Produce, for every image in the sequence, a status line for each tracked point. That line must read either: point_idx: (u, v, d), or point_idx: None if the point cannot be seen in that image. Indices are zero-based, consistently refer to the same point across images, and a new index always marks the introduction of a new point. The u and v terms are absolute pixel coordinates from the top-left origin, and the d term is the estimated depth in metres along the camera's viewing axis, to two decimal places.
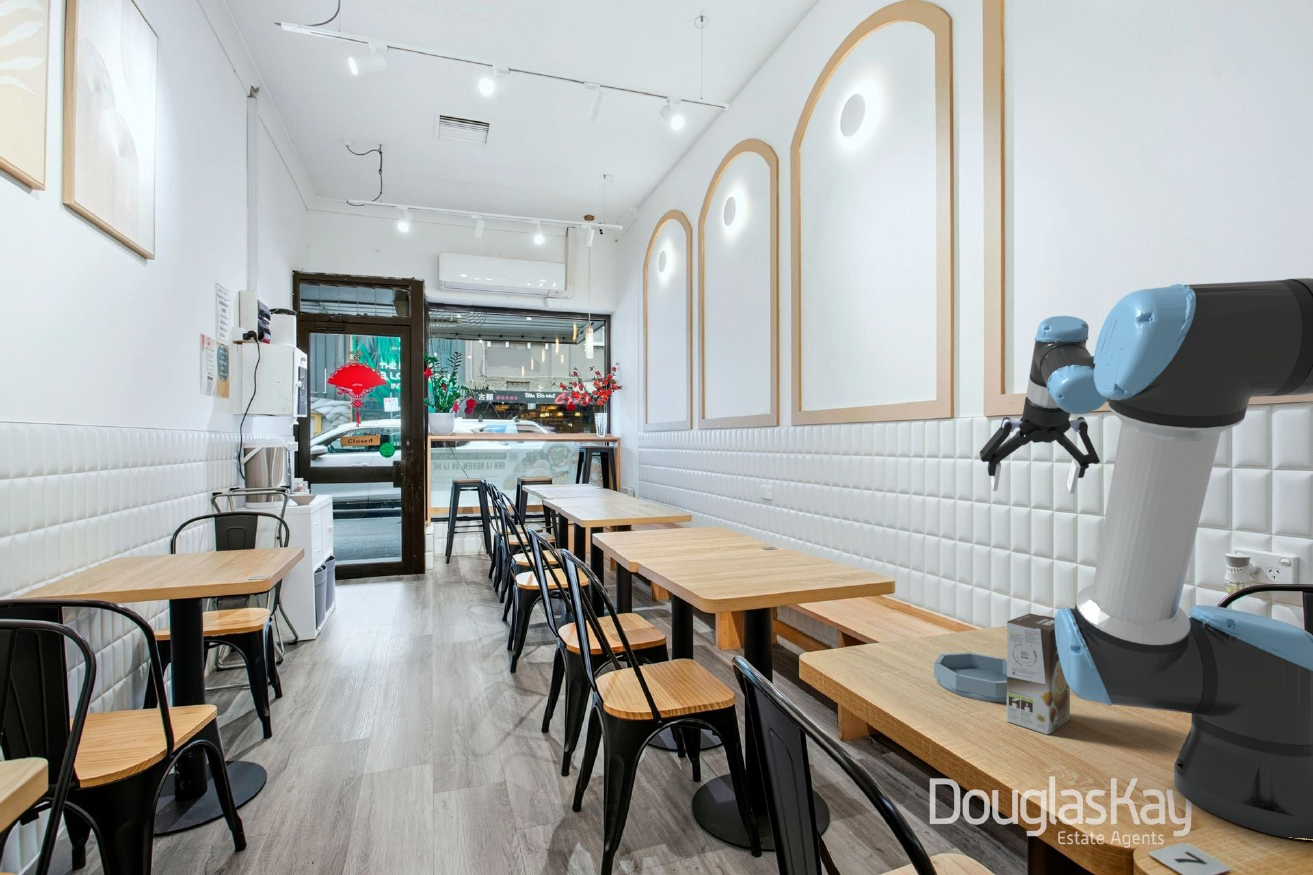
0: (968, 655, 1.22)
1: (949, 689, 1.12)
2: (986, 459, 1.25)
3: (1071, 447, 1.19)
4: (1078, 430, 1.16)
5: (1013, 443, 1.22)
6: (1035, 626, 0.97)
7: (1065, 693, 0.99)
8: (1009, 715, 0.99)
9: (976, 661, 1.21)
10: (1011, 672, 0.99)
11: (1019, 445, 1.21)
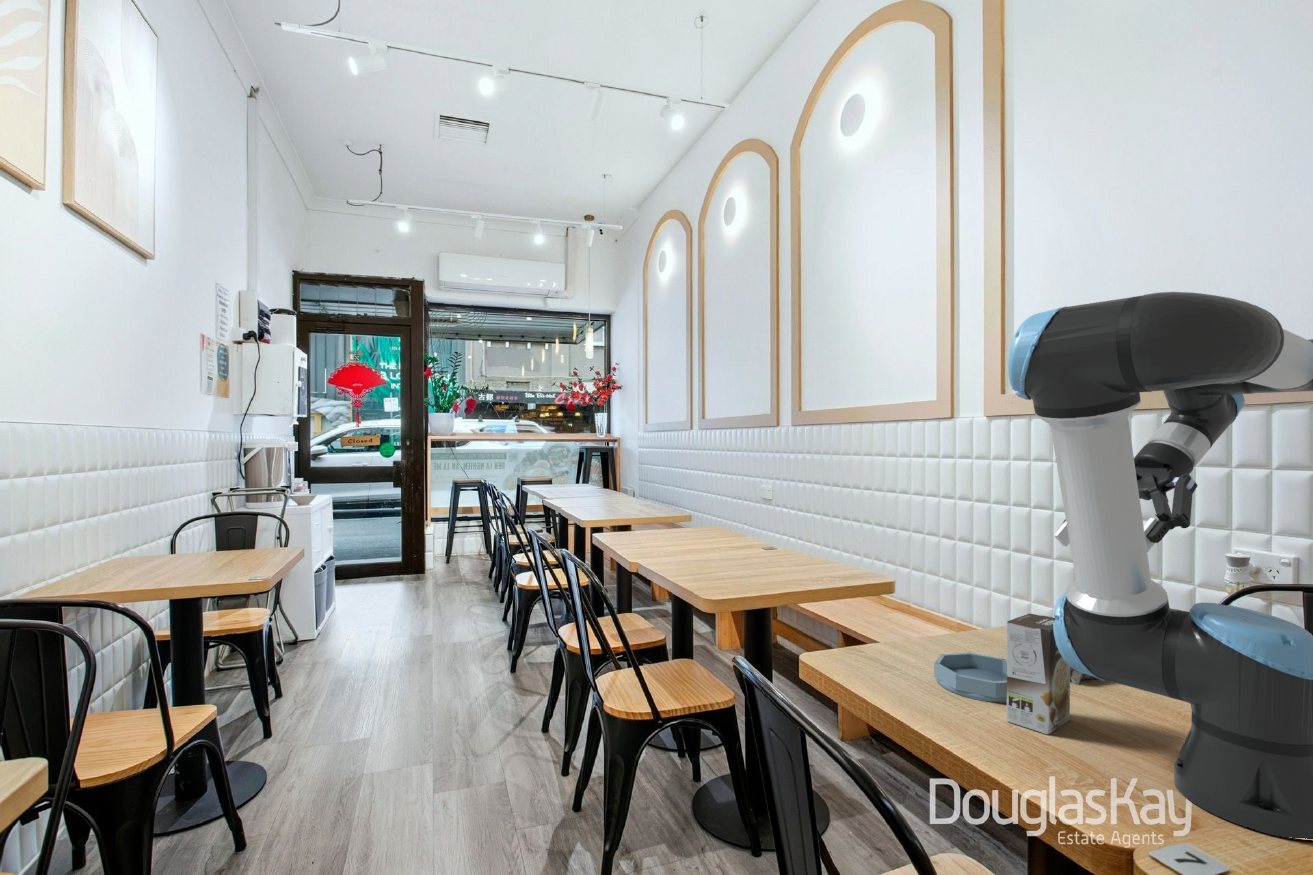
0: (968, 655, 1.22)
1: (949, 689, 1.12)
2: None
3: (1158, 497, 0.99)
4: (1176, 480, 0.99)
5: None
6: (1035, 626, 0.97)
7: (1065, 693, 0.99)
8: (1009, 715, 0.99)
9: (976, 661, 1.21)
10: (1011, 672, 0.99)
11: None
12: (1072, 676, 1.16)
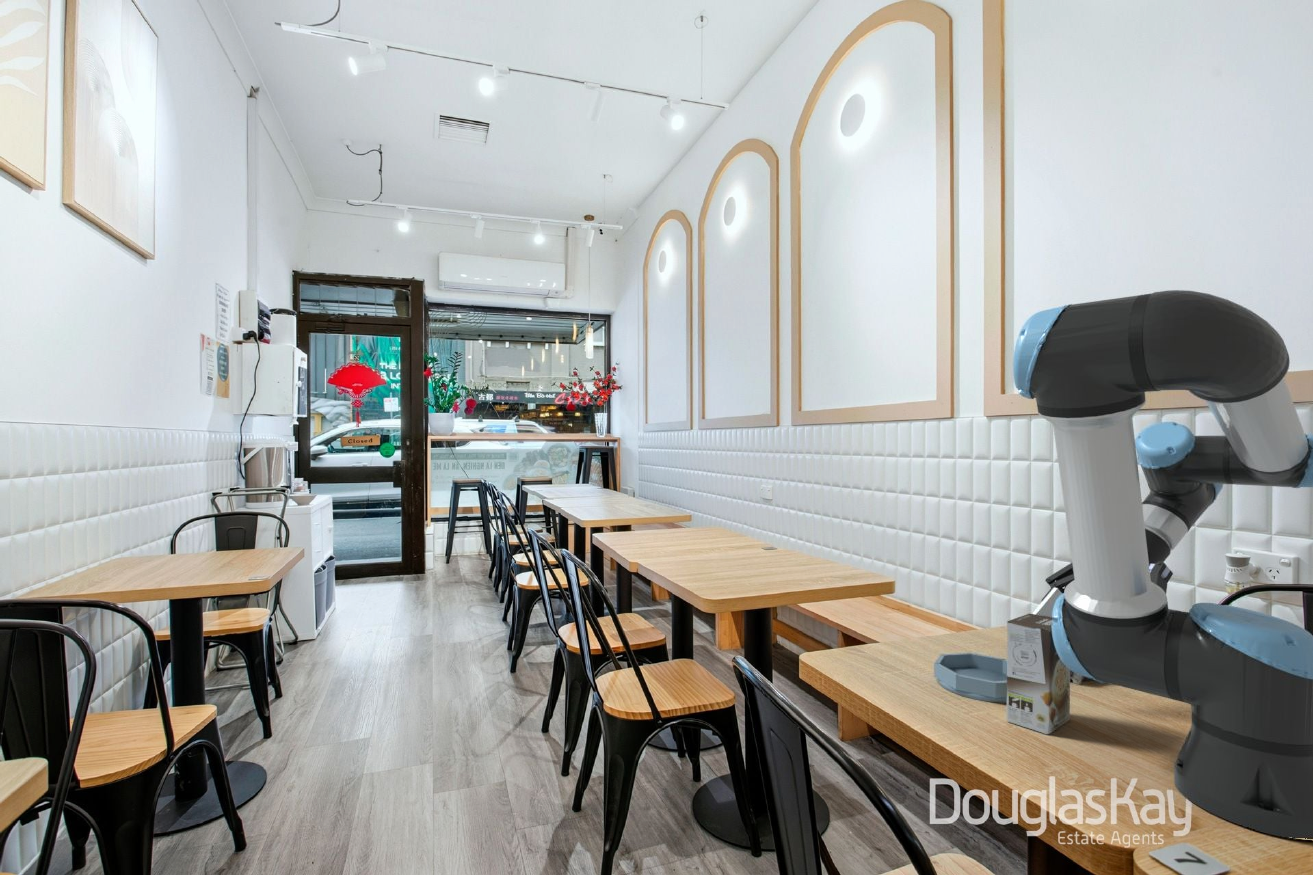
0: (968, 655, 1.22)
1: (949, 689, 1.12)
2: (1050, 579, 1.12)
3: None
4: (1151, 567, 0.99)
5: None
6: (1035, 626, 0.97)
7: (1065, 693, 0.99)
8: (1009, 715, 0.99)
9: (976, 661, 1.21)
10: (1011, 672, 0.99)
11: None
12: (1073, 676, 1.16)
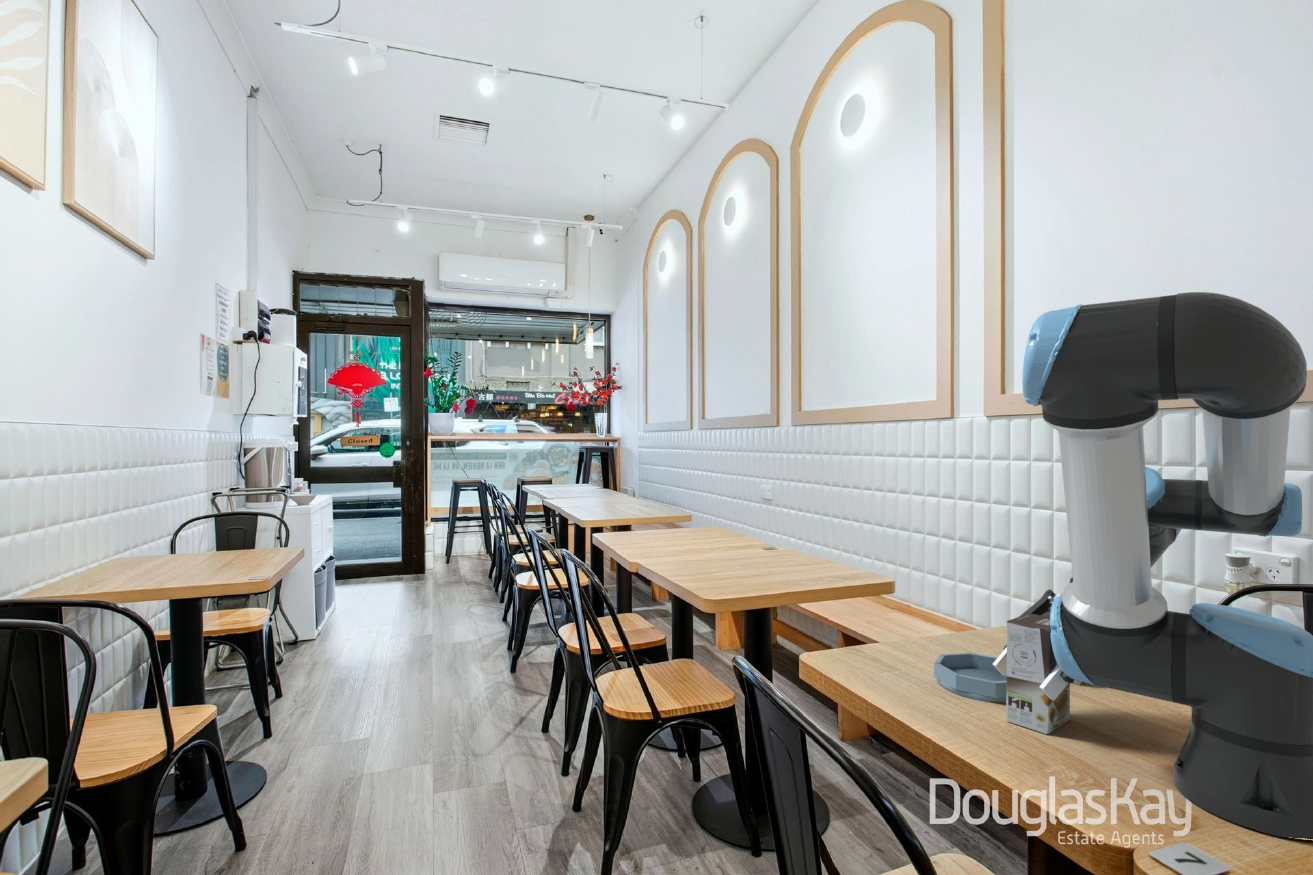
0: (968, 655, 1.22)
1: (949, 689, 1.12)
2: None
3: None
4: None
5: None
6: (1034, 626, 0.97)
7: (1065, 693, 0.99)
8: (1009, 715, 0.99)
9: (976, 661, 1.21)
10: (1011, 672, 0.99)
11: (1048, 615, 1.04)
12: None
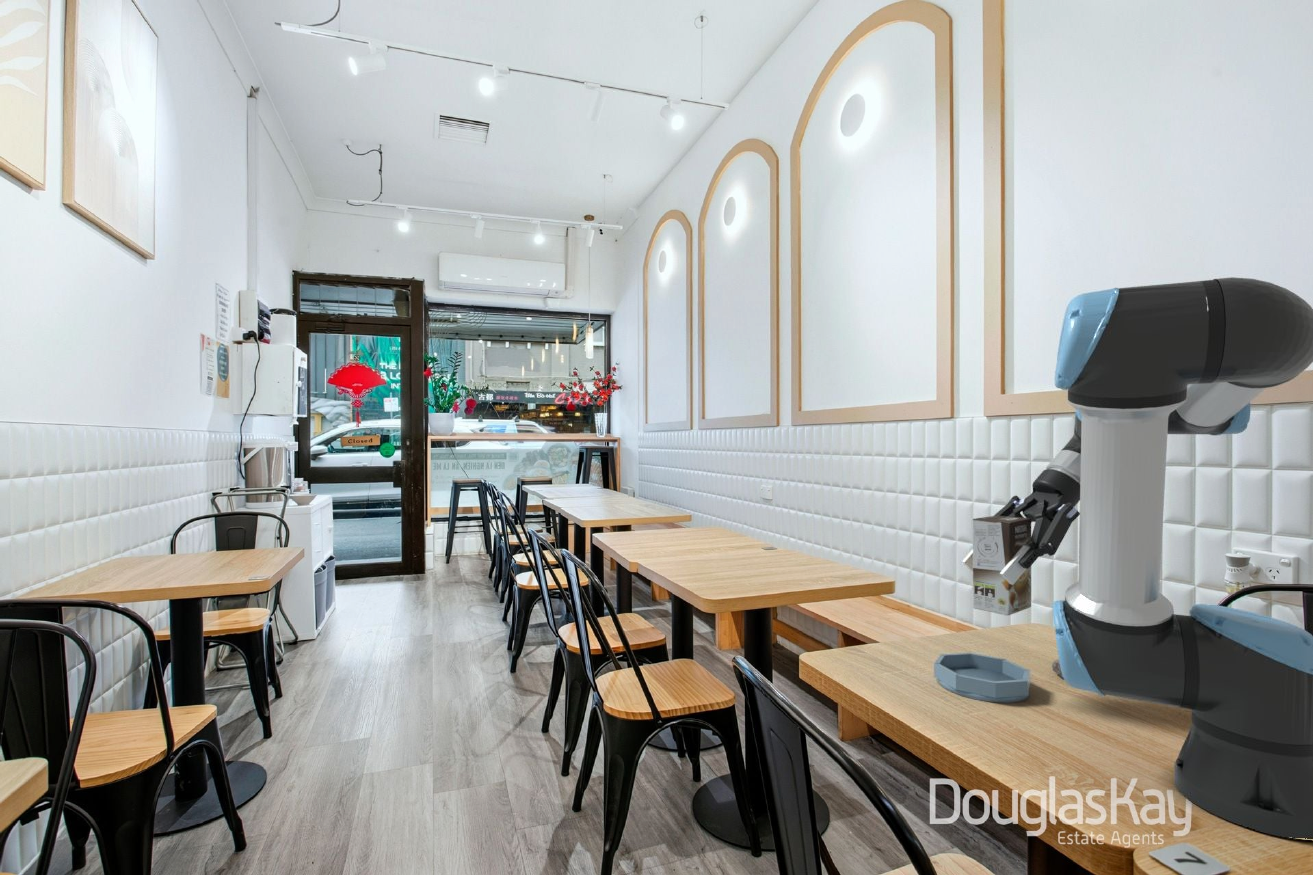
0: (968, 655, 1.22)
1: (949, 689, 1.12)
2: None
3: (1039, 524, 1.08)
4: (1060, 508, 1.07)
5: None
6: (996, 521, 1.08)
7: (1026, 582, 1.10)
8: (975, 602, 1.11)
9: (976, 661, 1.21)
10: (976, 564, 1.10)
11: (1012, 516, 1.15)
12: None
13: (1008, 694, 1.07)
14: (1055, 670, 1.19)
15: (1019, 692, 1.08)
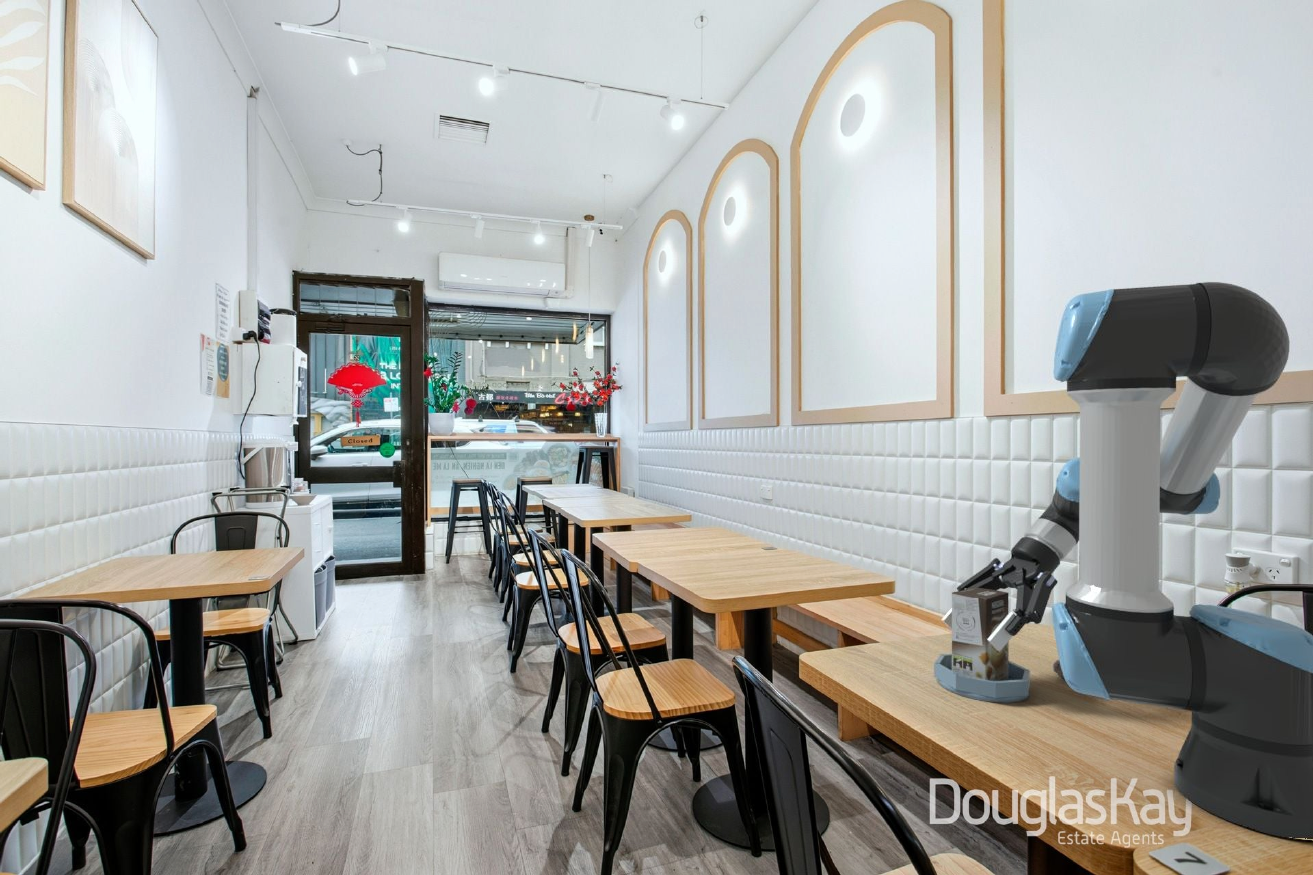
0: None
1: (949, 689, 1.12)
2: (960, 587, 1.24)
3: (1021, 591, 1.11)
4: (1039, 576, 1.11)
5: None
6: (974, 596, 1.12)
7: (1003, 655, 1.14)
8: None
9: None
10: (955, 636, 1.14)
11: (990, 579, 1.19)
12: None
13: (1008, 694, 1.07)
14: (1056, 671, 1.19)
15: (1019, 692, 1.08)
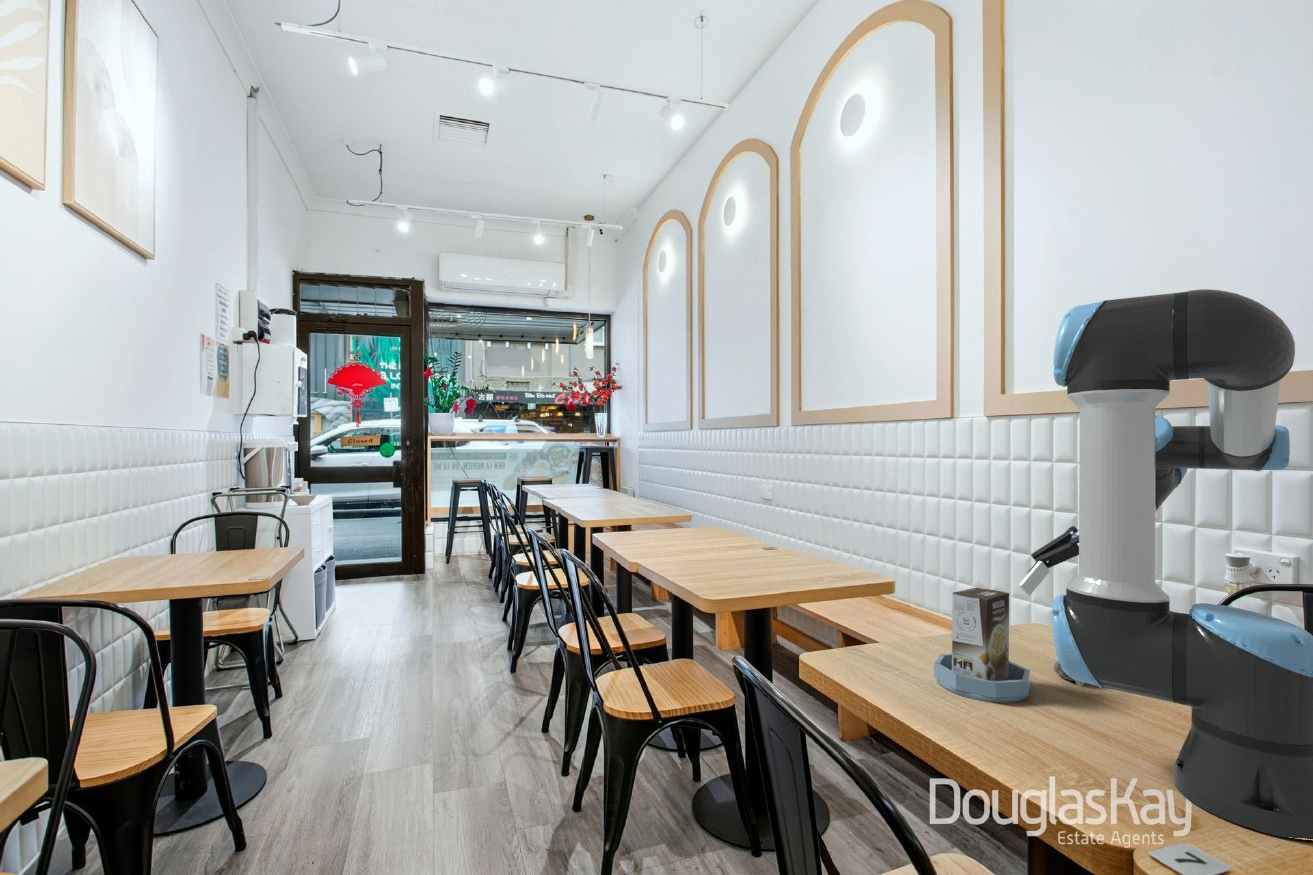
0: None
1: (949, 689, 1.12)
2: (1035, 554, 1.25)
3: None
4: None
5: None
6: (975, 596, 1.12)
7: (1003, 656, 1.14)
8: None
9: None
10: (955, 637, 1.14)
11: (1068, 546, 1.20)
12: None
13: (1008, 694, 1.07)
14: (1057, 671, 1.19)
15: (1019, 692, 1.08)
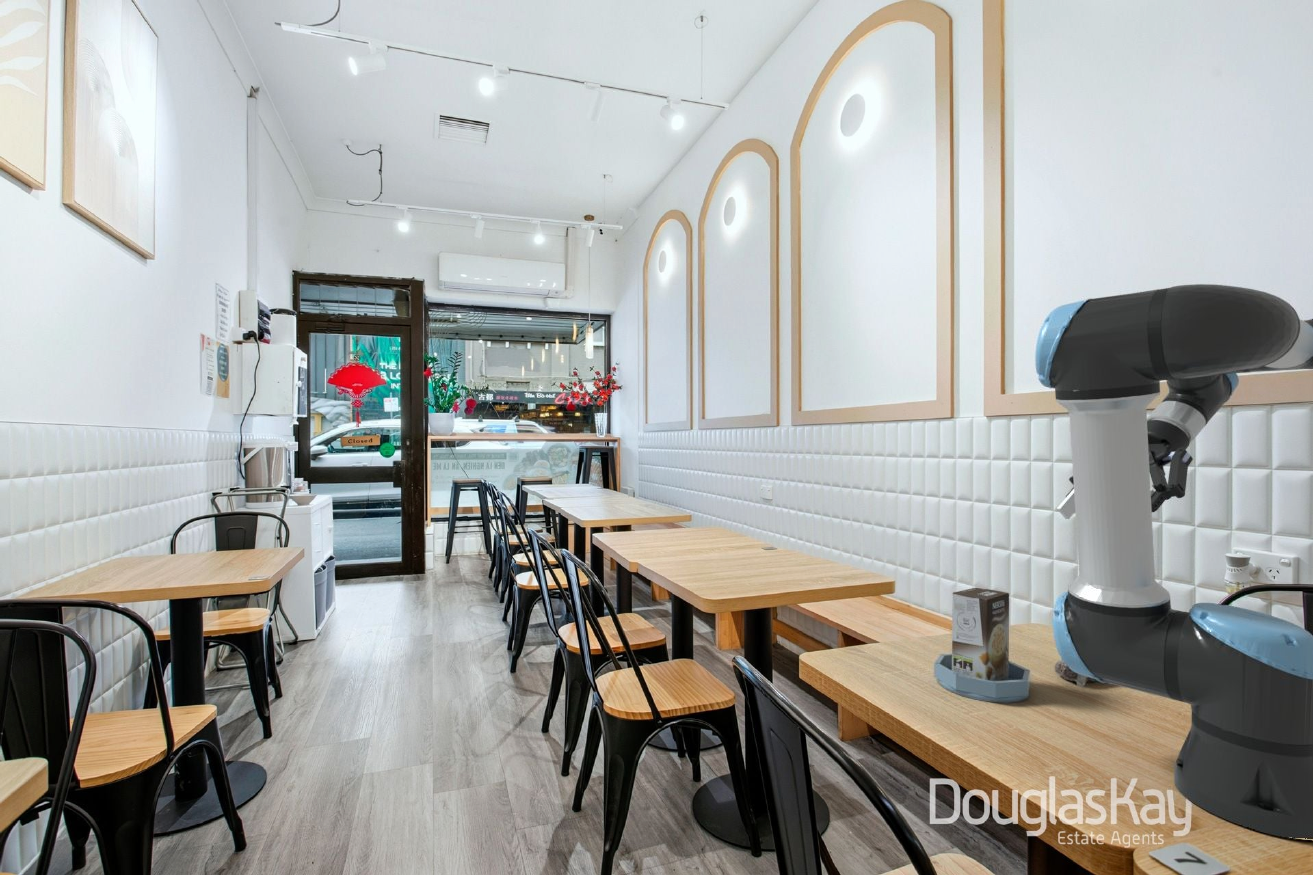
0: None
1: (949, 689, 1.12)
2: None
3: (1155, 470, 1.05)
4: (1172, 454, 1.05)
5: None
6: (975, 596, 1.12)
7: (1003, 656, 1.14)
8: None
9: None
10: (955, 637, 1.14)
11: None
12: (1077, 678, 1.15)
13: (1008, 694, 1.07)
14: (1058, 671, 1.18)
15: (1019, 692, 1.08)
